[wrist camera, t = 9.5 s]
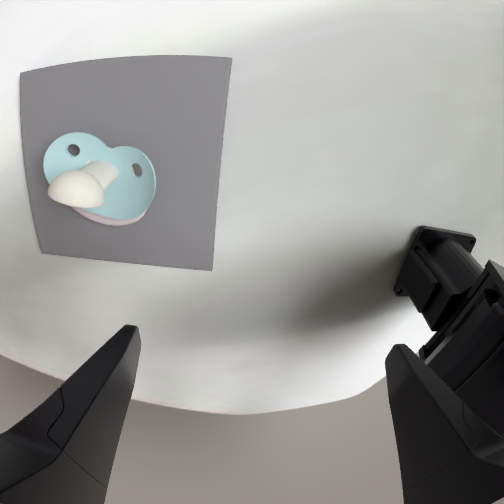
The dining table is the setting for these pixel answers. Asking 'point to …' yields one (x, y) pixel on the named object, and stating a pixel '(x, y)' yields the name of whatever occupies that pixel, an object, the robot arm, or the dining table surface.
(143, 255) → the mat
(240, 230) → the dining table surface
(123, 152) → the pacifier
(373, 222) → the dining table surface
